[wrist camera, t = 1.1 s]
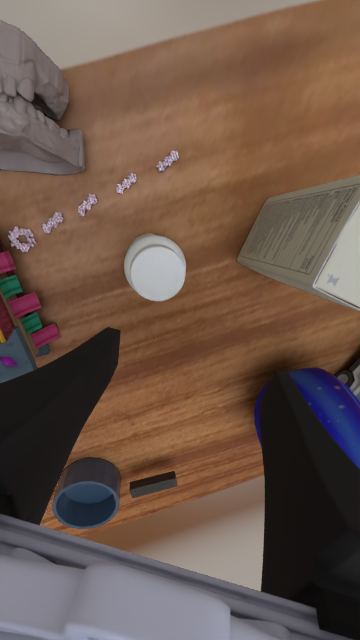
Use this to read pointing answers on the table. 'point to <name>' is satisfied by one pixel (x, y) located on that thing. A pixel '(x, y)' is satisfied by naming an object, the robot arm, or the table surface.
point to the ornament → (328, 407)
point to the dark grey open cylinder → (87, 494)
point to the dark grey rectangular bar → (153, 484)
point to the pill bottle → (155, 267)
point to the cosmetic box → (310, 241)
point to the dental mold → (34, 110)
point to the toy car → (352, 378)
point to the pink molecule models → (85, 205)
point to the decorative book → (19, 324)
